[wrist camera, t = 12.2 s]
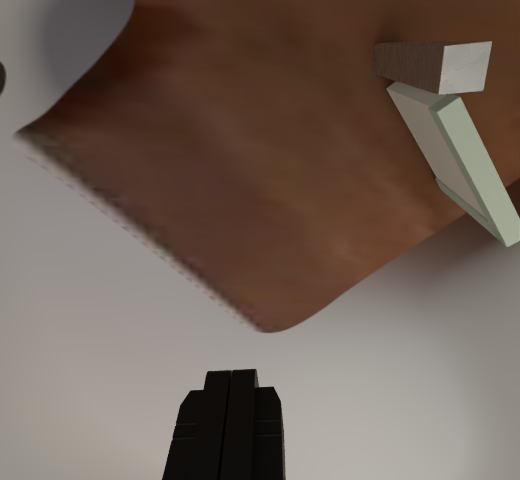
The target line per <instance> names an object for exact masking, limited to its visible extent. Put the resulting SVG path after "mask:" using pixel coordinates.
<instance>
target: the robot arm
mask: <svg viewBox="0 0 520 480" xmlns="http://www.w3.org/2000/svg"><path fill="white" fill-rule="evenodd" d="M162 480H286V477H285V450H284V429H283V419H282V408H281V401H280V399H279V397H278V395H277V393H276V391H275V389H274V387H259V384H258V377H257V370H256V369H244V370H233V371H231V370H226V371H208V372H207V375H206V379H205V384H204V390H191V391H190V392H189V394H188V395H187V396H186V398H185V399H184V401H183V402H182V404H181V405H180V409H179V413H178V417H177V421H176V426H175V429H174V433H173V440H172V442H171V445H170V450H169V454H168V458H167V462H166V466H165V470H164V474H163V478H162Z"/></svg>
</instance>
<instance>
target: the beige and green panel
mask: <svg viewBox="0 0 520 480" xmlns="http://www.w3.org/2000/svg"><path fill="white" fill-rule="evenodd" d="M386 89H387V91H388V93H389V94H390V96H391V98H392V100H393V101H394V103H395V105H396V107H397V108H398V110H399V112H400V114H401V116H402V117H403V119H404V121H405V123H406V124H407V126H408V128H409V130H410V131H411V133H412V135H413V137H414V138H415V140H416V142H417V144H418V146H419V147H420V149H421V151H422V153H423V154H424V156H425V158H426V160H427V161H428V163H429V165H430V167H431V168H432V170H433V172H434V174H435V176H436V177H437V178H435V180H436V181H437V183H438V185H439V187H440V188H441V190H442V191H443V192H444V193H445V194H447V195H448V196H449V197H450V198H451V199H452V200H454V201H455V202H456V203H457V204H458V205H459V206H460V207H462V208H463V209H464V210H465V211H466V212H467V213H469V214H470V215H471V216H472V217H473V218H474V219H475V220H477V221H478V222H479V223H480V224H481V225H482V226H484V227H485V228H486V229H487V230H488V231H489V232H491V233H492V234H493V235H494V236H495V237H496V238H497V239H499V240H500V241H501V242H502V243H503V244H504V245H506V246H507V247H509V246H510V245H512V244H514V243H516V242H518V241H520V219H519V217H518V215H517V213H516V210H515V208H514V206H513V205H512V202H511V200H510V198H509V196H508V194H507V192H506V190H505V188H504V186H503V184H502V182H501V180H500V178H499V176H498V173H497V171H496V169H495V167H494V165H493V163H492V161H491V159H490V157H489V155H488V153H487V151H486V149H485V147H484V145H483V143H482V141H481V139H480V136H479V134H478V132H477V130H476V128H475V126H474V124H473V122H472V120H471V118H470V116H469V114H468V112H467V110H466V108H465V106H464V104H463V102H462V100H461V97H459V96H456V95H453V94H448V95H443V94H441V95H438V94H435V93H432V92H428V91H425V90H422V89H419V88H416V87H413V86H410V85H406V84H403V83H400V82H397V81H396V82H395V83H393V84H392V85H390V86H389V87H388V88H386Z"/></svg>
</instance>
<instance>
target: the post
mask: <svg viewBox="0 0 520 480" xmlns="http://www.w3.org/2000/svg"><path fill="white" fill-rule="evenodd" d="M491 45H492V41H399V42H389V43H379V44H374V63H373V74H375V75H378V76H381V77H384V78H388V79H391V80H394V81H397V82H400V83H403V84H406V85H410V86H413V87H416V88H419V89H422V90H425V91H428V92H432V93H435V94H438V95H441V94H452V93H463V92H474V91H483V89H484V84H485V78H486V73H487V67H488V61H489V56H490V50H491Z"/></svg>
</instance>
